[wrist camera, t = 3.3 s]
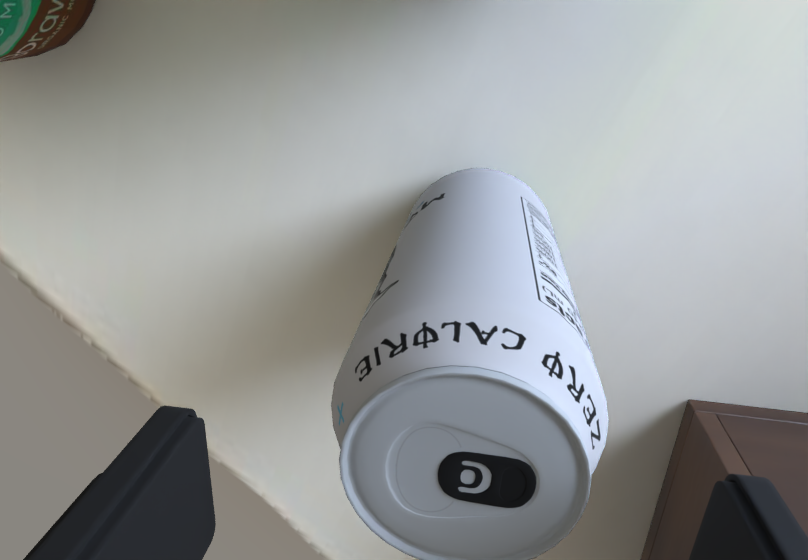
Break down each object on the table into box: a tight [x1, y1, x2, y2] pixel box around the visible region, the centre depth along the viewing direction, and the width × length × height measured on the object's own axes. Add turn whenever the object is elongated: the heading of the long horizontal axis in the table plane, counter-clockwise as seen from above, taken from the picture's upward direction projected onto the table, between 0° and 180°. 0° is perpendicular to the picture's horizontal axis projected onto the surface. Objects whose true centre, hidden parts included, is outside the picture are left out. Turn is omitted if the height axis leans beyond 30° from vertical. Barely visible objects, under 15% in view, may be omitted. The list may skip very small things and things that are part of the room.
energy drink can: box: [331, 168, 608, 560], centre depth 18 cm, size 6×6×15 cm
